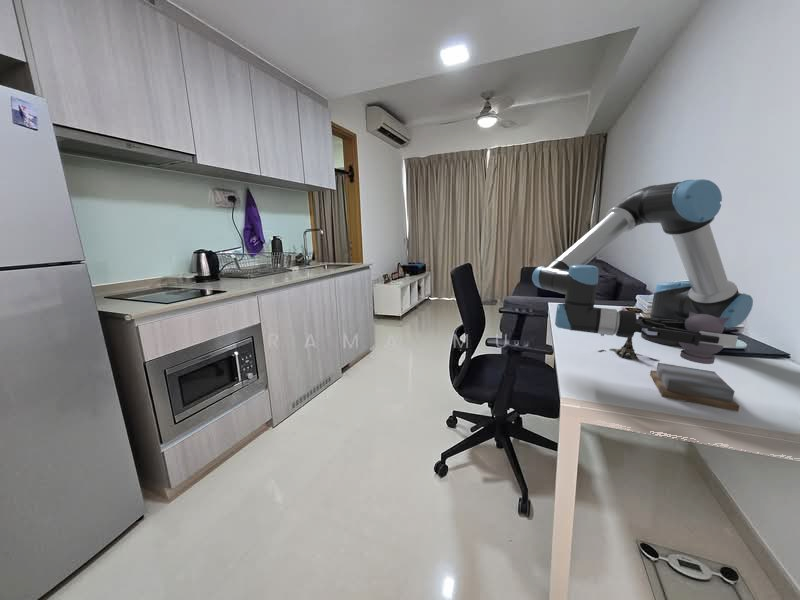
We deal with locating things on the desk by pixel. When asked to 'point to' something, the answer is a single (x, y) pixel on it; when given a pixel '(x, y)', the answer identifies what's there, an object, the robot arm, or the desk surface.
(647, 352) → the desk surface
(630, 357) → the eiffel tower figurine
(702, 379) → the display plinth
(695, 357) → the cat figurine
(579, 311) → the robot arm
